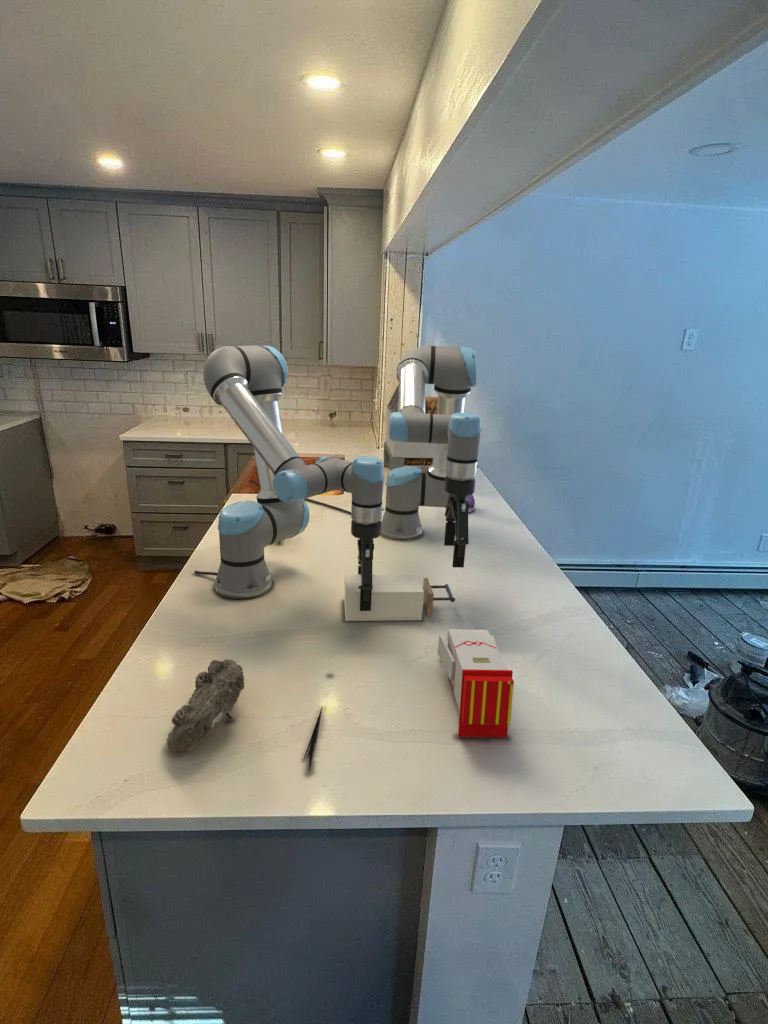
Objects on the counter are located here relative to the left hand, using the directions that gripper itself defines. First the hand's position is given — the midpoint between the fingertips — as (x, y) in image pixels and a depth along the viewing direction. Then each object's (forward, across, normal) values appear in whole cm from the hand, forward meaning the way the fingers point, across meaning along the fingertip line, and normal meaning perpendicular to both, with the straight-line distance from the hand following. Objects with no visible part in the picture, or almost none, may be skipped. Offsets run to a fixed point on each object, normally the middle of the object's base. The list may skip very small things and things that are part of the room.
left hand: (363, 598), depth 147 cm
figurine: (+3, +79, -45) cm, 91 cm away
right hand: (-12, +1, -23) cm, 26 cm away
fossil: (+4, -40, +31) cm, 51 cm away
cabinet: (+4, 0, -5) cm, 6 cm away
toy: (+4, -34, -20) cm, 40 cm away
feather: (+4, -41, +11) cm, 43 cm away
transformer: (+3, +132, -35) cm, 136 cm away
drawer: (+3, 0, -11) cm, 11 cm away
